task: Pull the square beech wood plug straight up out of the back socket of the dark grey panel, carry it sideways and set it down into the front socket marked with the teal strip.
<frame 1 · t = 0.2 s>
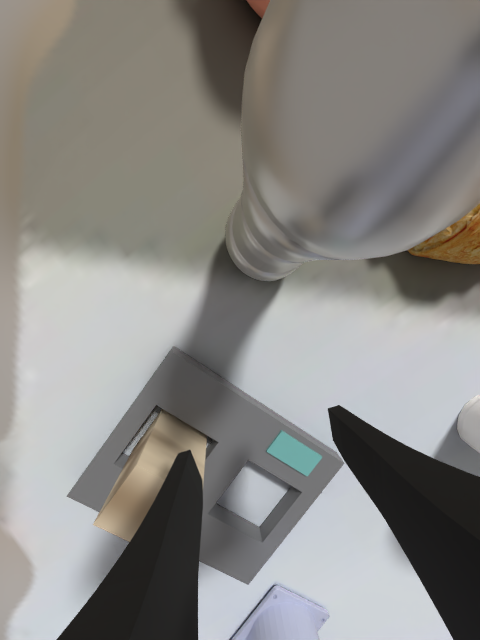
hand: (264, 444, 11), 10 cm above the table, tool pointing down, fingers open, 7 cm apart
socket panel: (213, 466, 22), on the table
plastic bottle: (260, 244, 20), on the table
plug: (170, 441, 22), resting in socket panel
croissant: (438, 211, 22), on the table
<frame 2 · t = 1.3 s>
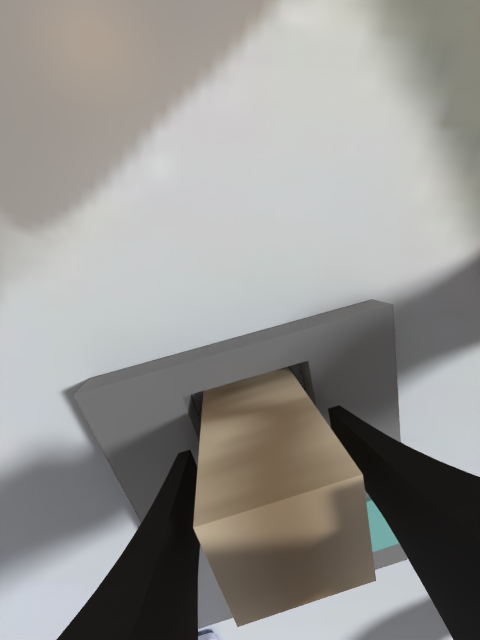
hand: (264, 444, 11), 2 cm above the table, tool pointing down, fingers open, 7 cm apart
socket panel: (272, 473, 15), on the table
plug: (255, 411, 14), resting in socket panel
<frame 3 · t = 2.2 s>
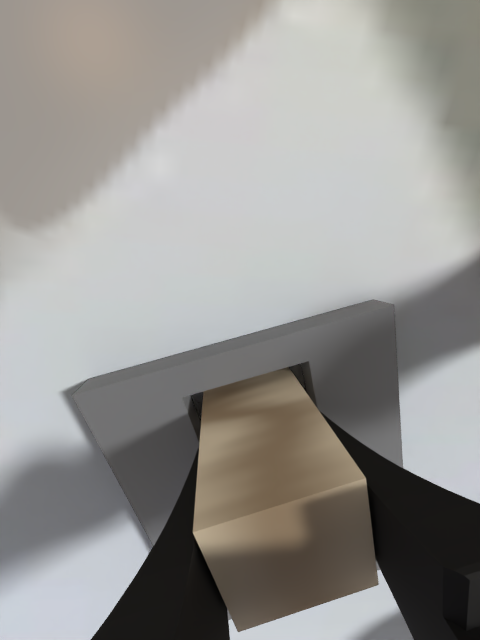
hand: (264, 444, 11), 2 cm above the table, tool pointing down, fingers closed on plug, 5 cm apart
socket panel: (272, 474, 15), on the table
plug: (255, 412, 14), resting in socket panel, touching gripper
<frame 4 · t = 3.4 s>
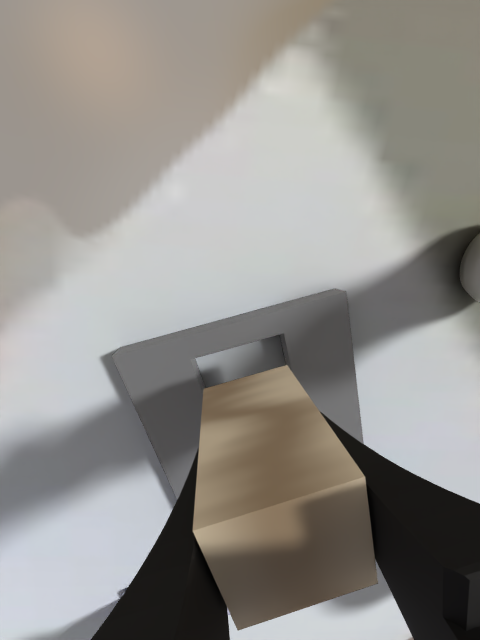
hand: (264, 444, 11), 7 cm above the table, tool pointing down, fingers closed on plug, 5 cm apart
socket panel: (260, 427, 19), on the table
plug: (255, 412, 14), point 4 cm above the table, touching gripper
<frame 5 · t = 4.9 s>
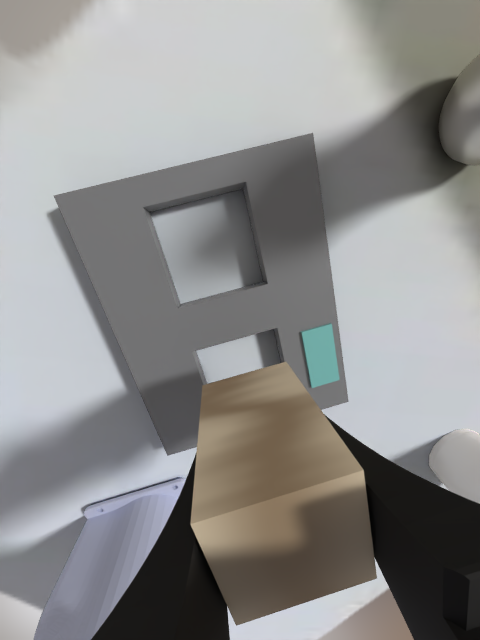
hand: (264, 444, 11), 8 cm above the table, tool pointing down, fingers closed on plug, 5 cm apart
socket panel: (228, 313, 18), on the table
plastic bottle: (462, 123, 16), on the table
plug: (254, 409, 14), point 6 cm above the table, touching gripper
foam cup: (453, 451, 25), on the table
when the fingers open (3 cm above the table, at t = 6.2 s): plug stays where it is, resting in socket panel.
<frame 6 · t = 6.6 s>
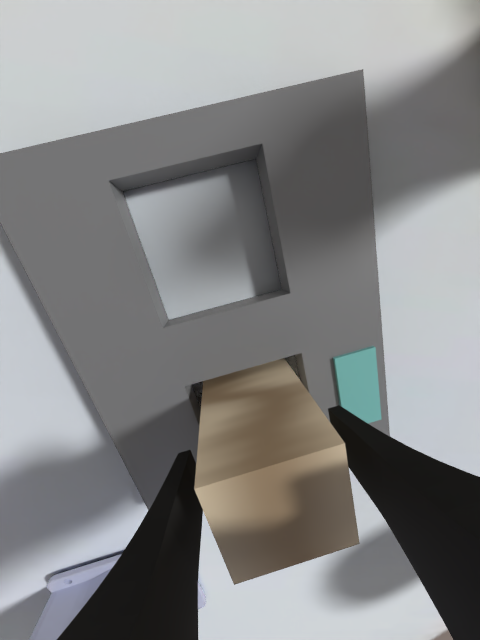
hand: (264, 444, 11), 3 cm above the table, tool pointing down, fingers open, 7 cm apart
socket panel: (233, 332, 13), on the table
plug: (252, 399, 15), resting in socket panel
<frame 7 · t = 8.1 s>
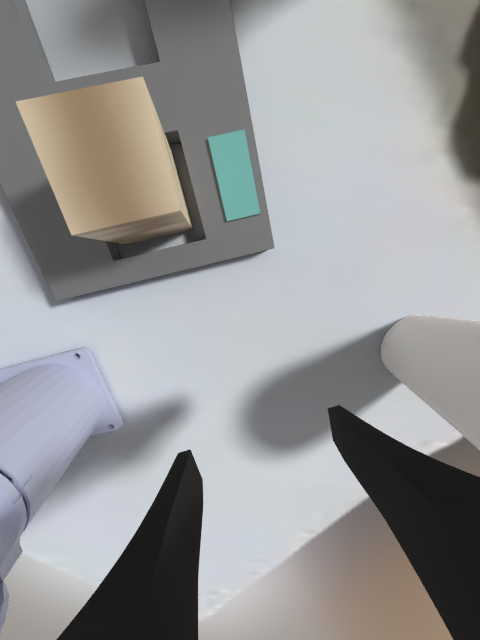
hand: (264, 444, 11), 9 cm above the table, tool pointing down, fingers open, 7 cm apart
socket panel: (124, 122, 15), on the table
plug: (149, 201, 16), resting in socket panel
foam cup: (408, 344, 22), on the table
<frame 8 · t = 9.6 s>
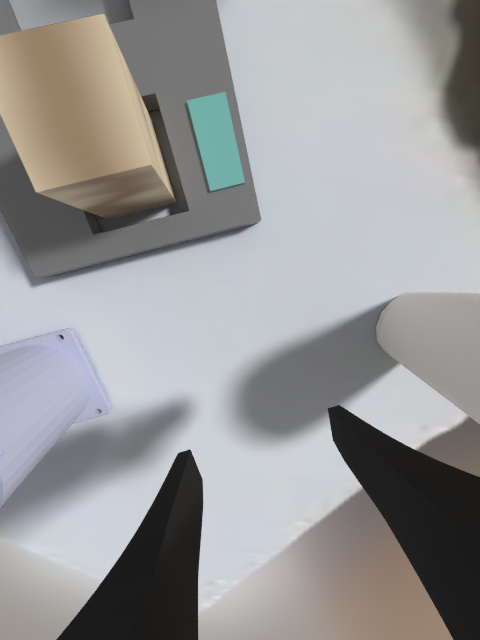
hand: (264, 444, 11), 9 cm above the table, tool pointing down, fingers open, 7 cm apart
socket panel: (100, 88, 14), on the table
plug: (130, 173, 16), resting in socket panel
foam cup: (405, 324, 21), on the table
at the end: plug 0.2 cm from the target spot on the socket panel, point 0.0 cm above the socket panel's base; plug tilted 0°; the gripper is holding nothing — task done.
